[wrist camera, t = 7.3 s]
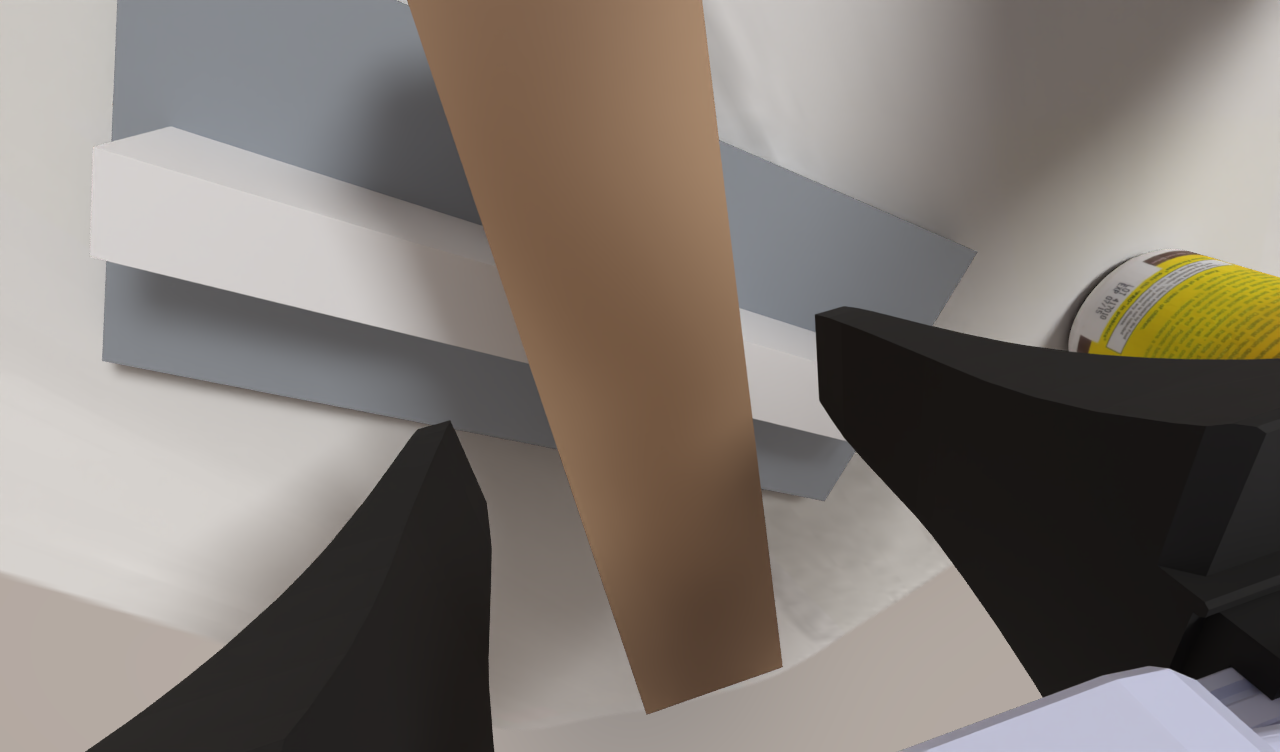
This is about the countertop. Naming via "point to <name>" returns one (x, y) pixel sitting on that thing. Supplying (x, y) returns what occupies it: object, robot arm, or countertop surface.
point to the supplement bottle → (1180, 310)
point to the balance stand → (413, 235)
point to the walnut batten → (623, 307)
